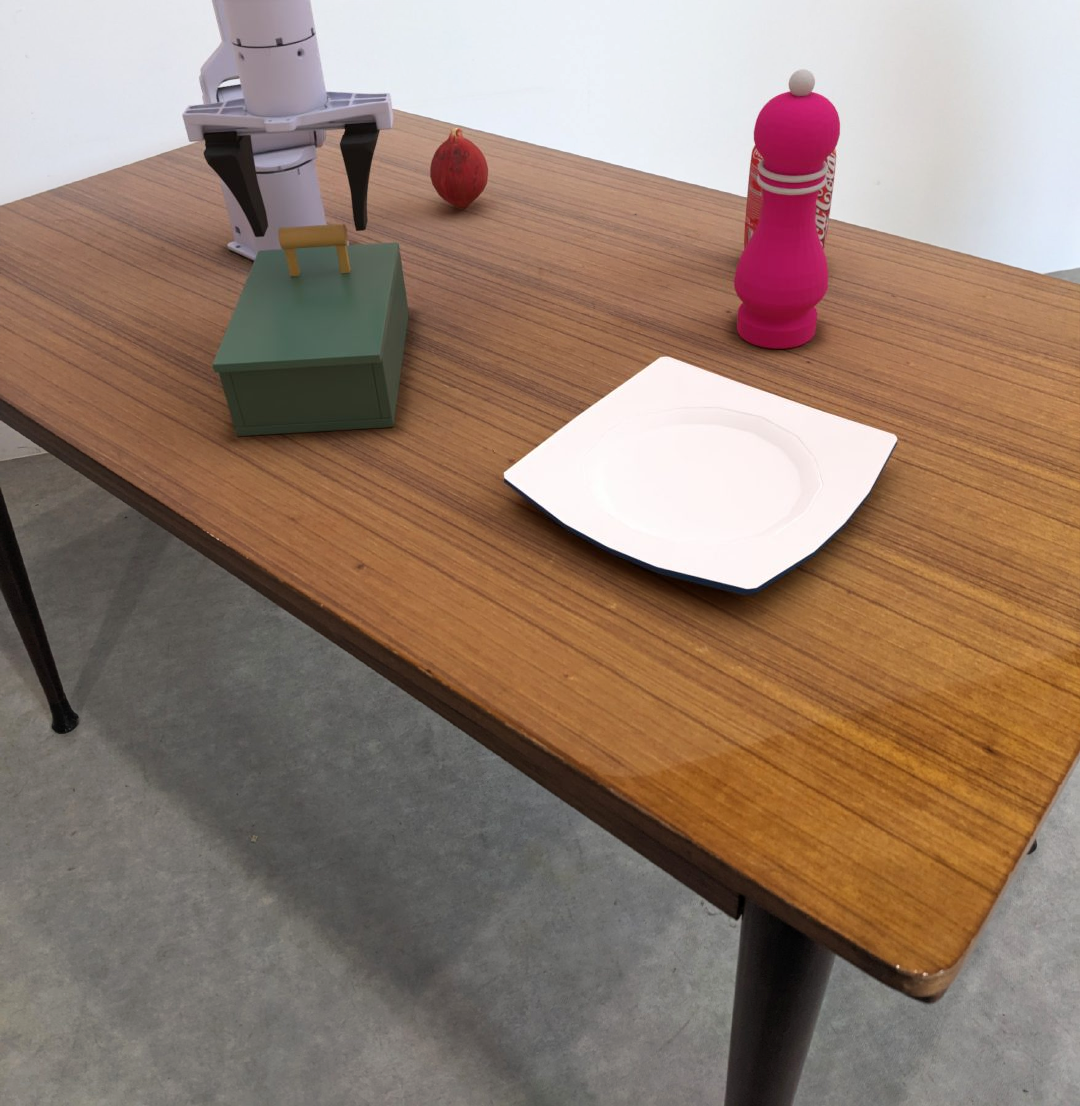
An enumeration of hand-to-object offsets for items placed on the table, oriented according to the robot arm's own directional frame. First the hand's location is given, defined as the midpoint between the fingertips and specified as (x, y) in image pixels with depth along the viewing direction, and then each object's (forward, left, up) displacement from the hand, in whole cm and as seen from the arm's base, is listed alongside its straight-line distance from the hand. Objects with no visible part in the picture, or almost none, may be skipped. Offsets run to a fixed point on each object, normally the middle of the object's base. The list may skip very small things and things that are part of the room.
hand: (311, 228), depth 80 cm
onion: (-12, +26, -10) cm, 31 cm away
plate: (+35, +3, -10) cm, 36 cm away
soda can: (+21, +34, -10) cm, 41 cm away
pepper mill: (+27, +24, -10) cm, 38 cm away
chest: (+3, -3, -10) cm, 11 cm away
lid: (+3, -3, -4) cm, 6 cm away
